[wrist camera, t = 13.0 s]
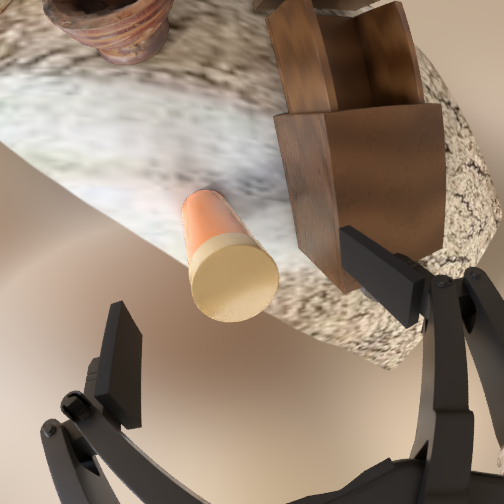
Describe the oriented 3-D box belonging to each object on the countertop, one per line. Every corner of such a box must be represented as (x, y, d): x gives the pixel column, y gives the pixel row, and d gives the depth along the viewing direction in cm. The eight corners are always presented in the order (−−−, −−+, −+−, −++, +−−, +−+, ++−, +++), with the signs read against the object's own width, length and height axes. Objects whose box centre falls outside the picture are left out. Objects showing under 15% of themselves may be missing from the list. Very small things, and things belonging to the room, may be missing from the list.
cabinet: (272, 116, 27) (322, 113, 18) (375, 101, 29) (441, 103, 20) (298, 248, 35) (344, 294, 25) (386, 217, 36) (442, 248, 27)
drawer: (241, -32, 18) (267, -74, 11) (341, -28, 20) (384, -54, 12) (283, 127, 27) (326, 129, 20) (378, 112, 29) (432, 116, 21)
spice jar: (184, 185, 28) (197, 240, 15) (234, 191, 30) (288, 249, 17) (177, 233, 30) (187, 321, 17) (225, 238, 32) (268, 323, 18)
